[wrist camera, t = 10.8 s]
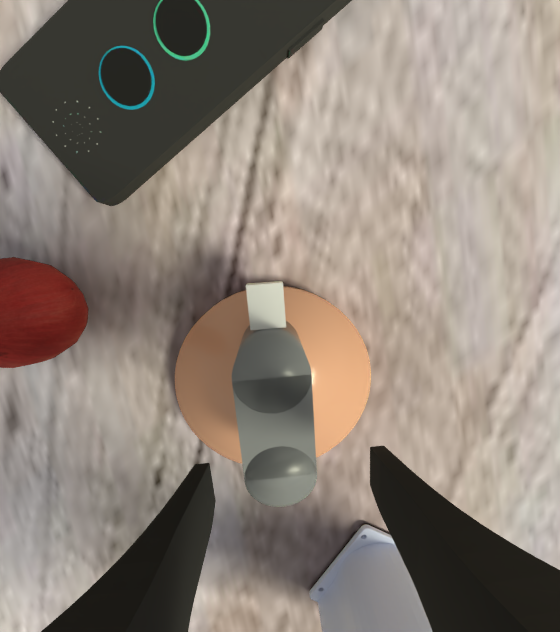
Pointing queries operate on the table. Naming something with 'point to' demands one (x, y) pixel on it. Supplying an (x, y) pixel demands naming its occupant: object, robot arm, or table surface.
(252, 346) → the connector
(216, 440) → the plate
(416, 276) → the table surface
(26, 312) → the onion
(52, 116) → the smart home device
